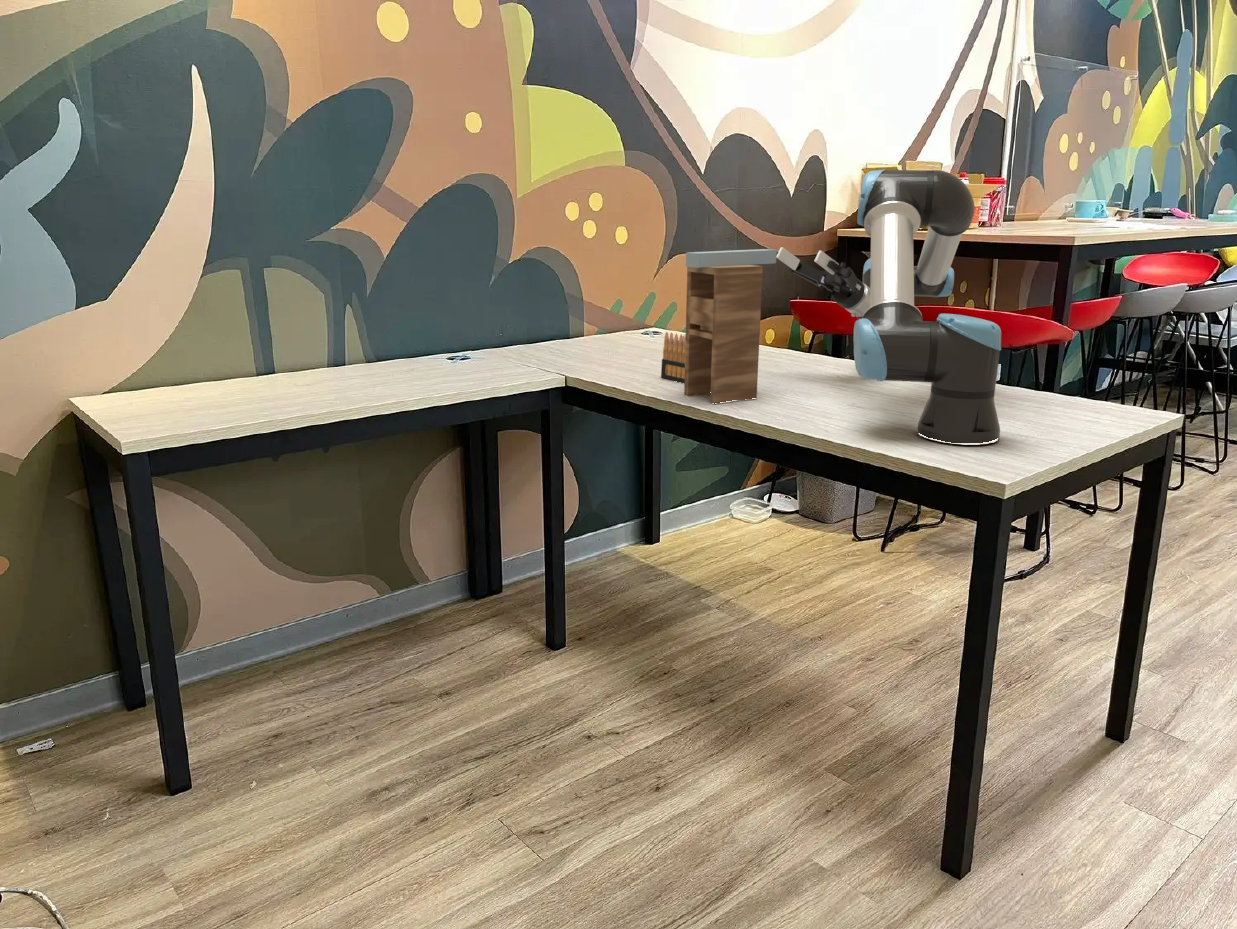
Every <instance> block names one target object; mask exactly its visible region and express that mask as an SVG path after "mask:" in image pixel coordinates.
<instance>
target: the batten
mask: <svg viewBox="0 0 1237 929" xmlns="http://www.w3.org/2000/svg"><path fill="white" fill-rule="evenodd" d="M777 254H778V251H777V249H767V248H763V249H762V248H761V249H760V248H759V249H738V250H737V249H736V250H715V251H714V250H712V251H711V250H710V251H692V252H691V251H690V252H685V267H696V268H701V267H718V266H736V265H770V264H777V258H776V256H777Z"/></svg>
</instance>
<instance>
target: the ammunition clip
mask: <svg viewBox="0 0 1237 929" xmlns="http://www.w3.org/2000/svg"><path fill="white" fill-rule="evenodd" d="M684 335H685V334H684ZM685 342H686V335H685V338H684V344H683V334H680V335H679V336H678V333H677V332H675V335H674V334H673V332H670V335H669V333H668V331H666V332H665V335H664V341H663V348H662V349H663V352H662V354H663V355H662V358H661V369H660V370H661V372H660V373H661V374H660V379H661V378H662V380H666V381H671V382H674V381H677V382H676V383H679V382H681V383H680V384H683V383H684V384H685Z"/></svg>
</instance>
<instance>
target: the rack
mask: <svg viewBox="0 0 1237 929" xmlns="http://www.w3.org/2000/svg"><path fill="white" fill-rule="evenodd" d="M763 268H764V266H763V265H762V266H761V265H756V264H754V265H736V266H718V267H701V268H696V267H687V269H686V271H687V273H686V307H685V308H686V309H685V310H686V311H685V315H686V316H685V334H686V342H685V384H684V385H683V386H684V387H683V388H684V390H683V391H684V392H683V393H684V394H683V395H685V396H687V397H690V396H700V395H705V394H706V393H708V394H710V396H709V397H710V399H709V400H710V401H709V403H710V402H711V403H714V404H713V405H716V404H715V403H720V402H726V401H732V400H745V399H752V398H757V396H758V380H759V379H758V377H759V376H758V375H759V374H758V373H759V356H760V355H759V353H760V337H761V336H760V334H761V312H762V290H763V271H764V270H763ZM710 392H711V393H710ZM757 399H758V398H757ZM745 401H746V400H745ZM711 403H710V404H711Z"/></svg>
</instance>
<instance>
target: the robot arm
mask: <svg viewBox="0 0 1237 929" xmlns="http://www.w3.org/2000/svg"><path fill="white" fill-rule="evenodd" d="M861 185H862V186H861V190H860V197H859V201H858V202H859V203H858V206H857V207H858V209H857V215H856V216H857V217H856V218H857V219H856V223H857V225H859V226H861V227H864V228H863V229H864V231H865V233H866V234H867V235H868V236H869V237H870V258H868V259H867V260H866V261H865V263H864V265H863V269H862V271H863V272H862V277H861V279H862V281H861V280H860V279H859V278H857V275H856V273H855V272H854V270H853V269H852V268H851V267H849V266H847V263H845V262H843V261H841V262H840V263H839V262H837V261H836V260H835V259H833V258H832V257H831V256H829V255H828V254H827V253H825V252H824V251H823V250H818V252H817V254H816V256H815V258H814V260H813V261H814V262H815V263H816V264H817V265H819V267H821V268H822V269H824V270H819V269H817V268H815V267H813V266H811V265H809V264H806V263H804V262H802V261H801V260H800V259H799V258H798V257H797V256H795V254H793V253H791V252H790V251H789V250H788V249H786V248H785V247H783V246H782V247H781V246H780V248H779V250H778V251H777V255H776V259H777V260H779V261H781V262H782V263H783V264H785V265H786V266H787V267H789V269H788V271H789V272H790V273H791V275H793V274H794V275H797V276H798V277H800V278H801V279H803V280H806V281H808V282H809V283H811V284H813V285H815V286H816V287H817V288H819V289H823V288H825V289H826V290H827V291H830V292H831V297H832V299H833V301H834V302H835V303H836V304H837V305H839V306H840V307H842V308H844V309H845V310H846V311H847V312H849V313H850V314H851V315H850V316H851V317H852V318H854V317H855V318H857V320H855V322H854V327H853V335H852V336H853V357H854V358H853V359H854V364H855V365H854V366H855V370H856V373H857V375H858V376H859V377H861V378H862V379H864V380H873V381H877V382H878V381H879V382H884V381H889V382H890V381H891V382H910V383H911V382H912V383H913V382H915V383H930V384H931V386H930V393H929V394H930V395H929V397H928V399H927V402H926V404H925V407H924V408H923V411H922V412H921V415H920V417H919V419H918V422H917V430H916V432H917V431H918V433H920V434H922V435H924V436H926V437H928V438H933V439H937V440H941V441H945V442H951V443H983V442H989V441H992V440H995V439H997V438H999V439H1000V435H1001V428H1000V423H999V422H1000V421H999V417H998V413H997V408H996V404H995V394H996V385H997V384H996V383H997V376H998V368H999V359H1000V354H1001V353H1000V352H1001V351H1002V330H1001V327H1000V326H999V325H998V324H997V323H995V322H993V321H991V320H988V319H987V320H986V319H983V318H979V317H974V316H968V315H963V314H955V313H954V314H953V313H945V312H944V313H939V314H938V317H937V318H936V321H933V320H932V321H929V320H927V321H926V320H923V314H922V312H921V311H920V310H919V308H918V307H916V306H915V297H930V298H931V297H932V298H940V297H949V296H950V295H951V294H952V292H953V288H954V285H955V271H954V268H952V264H953V260H954V259H955V255H956V252H957V250H958V246H959V245H960V242H961V239H962V236H963V234H964V233H965V232H967V230H968V229H969V228H970V227H971V224H972V222H973V219H974V216H975V202H974V197H973V195H972V193H971V191H970V189H969V188H968V186H967V184H965V183H964V181H963V180H961V179H960V178H958V177H957V176H956V175H954V174H952V173H951V172H947V171H945V170H940V169H932V170H931V169H930V170H929V169H928V170H927V169H923V170H921V169H885V168H883V169H882V170H881V169H880V170H870V171H868V172H867V173H866V174H865V175H864V177H863V180H862V184H861ZM920 227H927V228H928V229H927V232H926V236H925V238H924V243H923V246H922V248H921V253H920V257H919V259H918V262H917V265H914V263H915V262H914V261H915V260H914V235H915V234H916V233H917V232H918V230H919V229H920ZM846 266H847V267H846Z"/></svg>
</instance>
